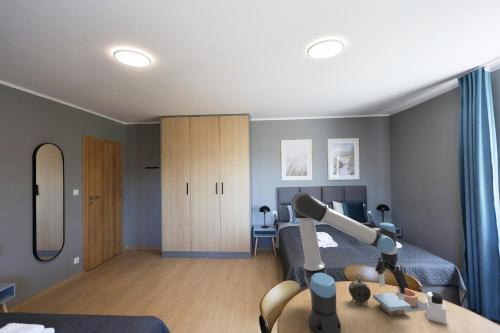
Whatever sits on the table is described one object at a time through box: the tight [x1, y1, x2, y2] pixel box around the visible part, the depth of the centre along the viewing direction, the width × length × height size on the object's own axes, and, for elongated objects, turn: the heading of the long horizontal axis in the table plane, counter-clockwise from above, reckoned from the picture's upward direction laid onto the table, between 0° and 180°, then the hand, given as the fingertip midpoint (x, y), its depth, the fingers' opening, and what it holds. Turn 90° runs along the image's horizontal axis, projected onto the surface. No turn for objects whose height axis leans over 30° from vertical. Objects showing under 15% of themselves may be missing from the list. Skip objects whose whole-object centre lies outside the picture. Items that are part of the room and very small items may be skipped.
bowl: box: [395, 287, 419, 307], centre depth 124 cm, size 10×10×5 cm
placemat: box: [394, 293, 426, 313], centre depth 124 cm, size 16×16×1 cm
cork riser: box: [378, 302, 405, 316], centre depth 117 cm, size 8×8×4 cm
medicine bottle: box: [424, 291, 448, 325], centre depth 110 cm, size 7×7×12 cm
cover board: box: [372, 292, 411, 311], centre depth 117 cm, size 12×12×2 cm
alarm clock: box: [348, 274, 372, 306], centre depth 125 cm, size 11×5×16 cm, turn 83°
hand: (391, 292), depth 117 cm, fingers open, 13 cm apart
